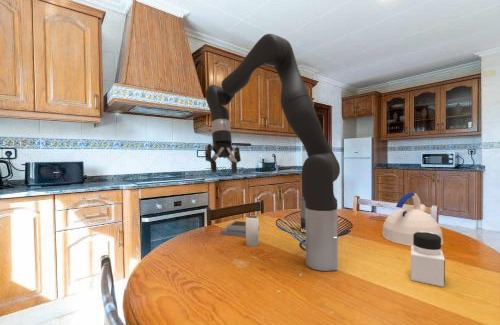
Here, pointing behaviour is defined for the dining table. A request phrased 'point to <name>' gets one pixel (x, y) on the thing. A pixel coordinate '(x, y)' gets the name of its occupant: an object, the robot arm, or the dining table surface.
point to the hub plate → (235, 229)
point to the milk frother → (303, 213)
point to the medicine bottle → (427, 259)
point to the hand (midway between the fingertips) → (224, 172)
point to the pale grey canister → (252, 231)
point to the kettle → (409, 222)
